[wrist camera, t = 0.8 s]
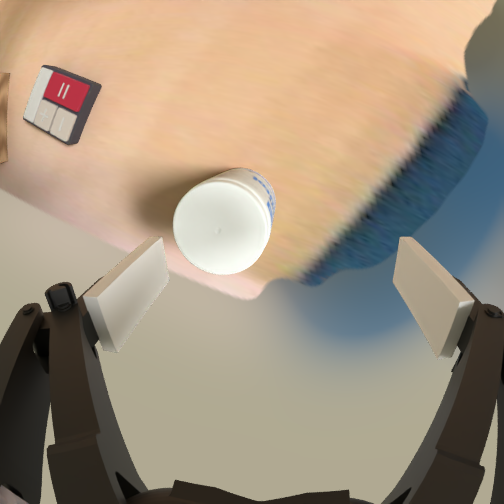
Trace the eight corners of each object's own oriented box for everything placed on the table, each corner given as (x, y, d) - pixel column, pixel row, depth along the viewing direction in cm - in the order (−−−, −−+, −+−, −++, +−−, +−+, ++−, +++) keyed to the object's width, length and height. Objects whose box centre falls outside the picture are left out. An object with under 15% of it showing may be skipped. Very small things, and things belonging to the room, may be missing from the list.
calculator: (65, 146, 36) (19, 119, 33) (80, 143, 39) (33, 117, 37) (91, 83, 31) (39, 63, 29) (105, 85, 35) (54, 66, 33)
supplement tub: (288, 208, 39) (291, 245, 26) (235, 244, 42) (213, 294, 29) (247, 152, 37) (227, 158, 24) (195, 192, 40) (152, 220, 26)
